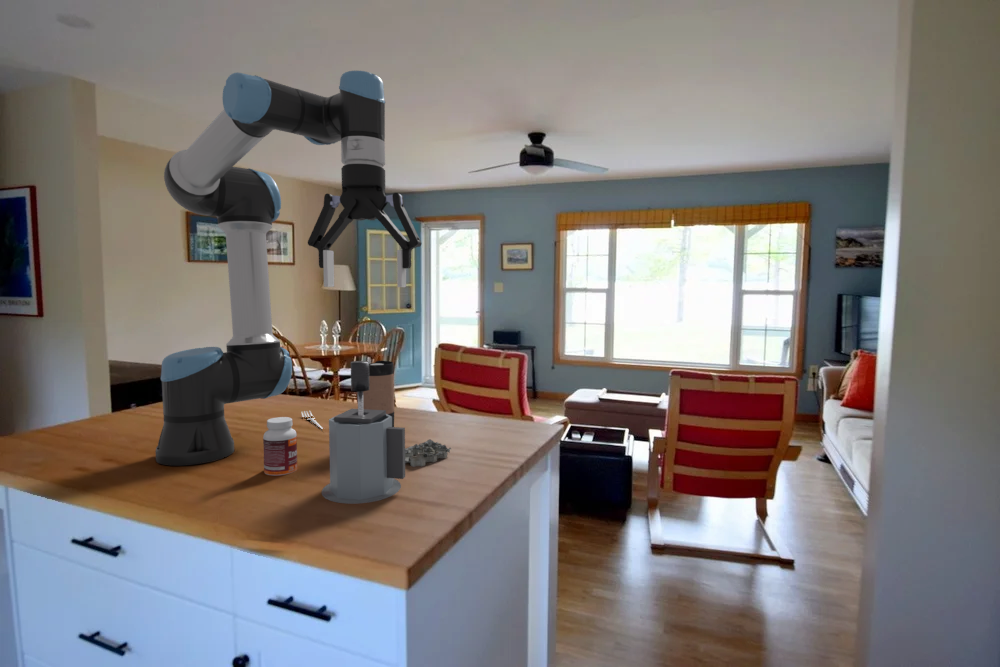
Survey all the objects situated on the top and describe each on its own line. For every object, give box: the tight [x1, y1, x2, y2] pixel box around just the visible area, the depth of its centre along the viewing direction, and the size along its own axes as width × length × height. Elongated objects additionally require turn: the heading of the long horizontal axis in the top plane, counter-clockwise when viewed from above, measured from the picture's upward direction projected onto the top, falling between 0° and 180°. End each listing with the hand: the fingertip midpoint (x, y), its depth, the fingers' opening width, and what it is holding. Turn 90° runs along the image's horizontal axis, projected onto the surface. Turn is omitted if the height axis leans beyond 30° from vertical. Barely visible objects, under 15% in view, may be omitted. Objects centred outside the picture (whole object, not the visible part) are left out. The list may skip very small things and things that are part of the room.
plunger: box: [350, 360, 370, 425], centre depth 98 cm, size 8×8×21 cm
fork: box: [301, 410, 324, 430], centre depth 148 cm, size 3×20×2 cm, turn 33°
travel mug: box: [363, 360, 395, 427], centre depth 125 cm, size 8×8×20 cm
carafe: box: [328, 408, 406, 500], centre depth 98 cm, size 13×10×14 cm
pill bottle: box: [262, 416, 298, 476], centre depth 108 cm, size 6×6×11 cm
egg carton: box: [405, 439, 452, 468], centre depth 116 cm, size 11×8×4 cm
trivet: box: [321, 478, 402, 505], centre depth 99 cm, size 14×14×1 cm
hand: (365, 287), depth 98 cm, fingers open, 13 cm apart
